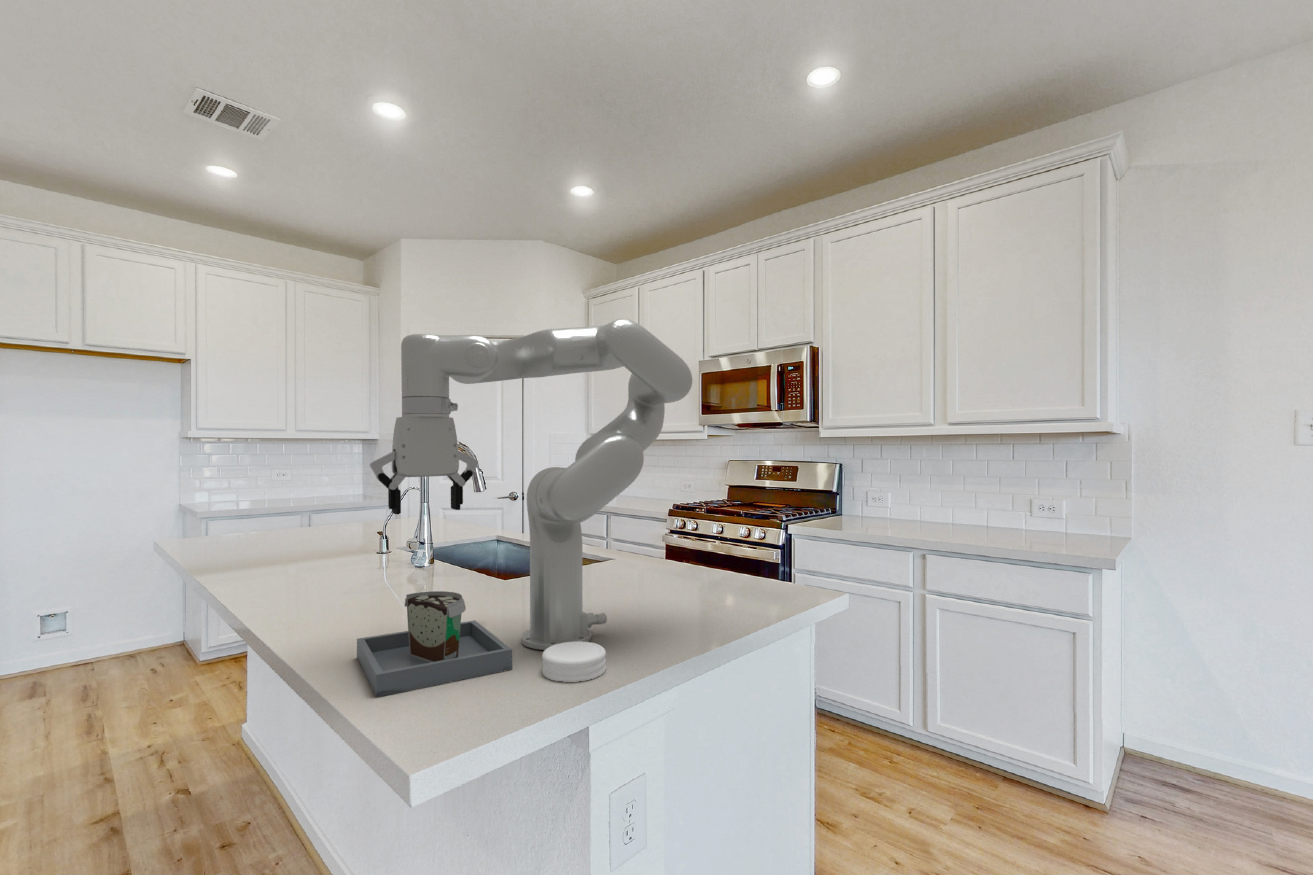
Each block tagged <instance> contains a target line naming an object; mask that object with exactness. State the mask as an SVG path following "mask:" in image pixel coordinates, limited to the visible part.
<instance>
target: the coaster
mask: <svg viewBox="0 0 1313 875" xmlns="http://www.w3.org/2000/svg"><path fill="white" fill-rule="evenodd" d="M606 654H607V652H606V649H605V648H604V647H603V646H602V645H601V644H598V643H595V642H590V641H589V642H565V643H560V644H556V645H553V646H550V647H548V648H547V649H546V650H543V652H542V654H541V658H542V662H541V666H542V668H541V673H542V675H543V676H544V677H545V678H546V679H548V680H550V679H552V680H551V681H553V680H555V681H554V682H557V681H563V682H562V683H566V682H574V683H580V682H579V681H583V682H587V681H586V680H588V681H591V680H590V679H592V680H595V679H597V678H598V676H599V677H600V676H602V675H603V674H604V673H605V671H606V668H607V664H606V662H607V658H606ZM594 678H595V679H594Z"/></svg>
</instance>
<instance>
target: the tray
mask: <svg viewBox="0 0 1313 875" xmlns="http://www.w3.org/2000/svg"><path fill="white" fill-rule="evenodd" d="M356 659H357V661H358V663H359V666H360V667H361V669H362V671H363V673H364V675H365V678H366V679H367V681H368V683H369V685H370V688H371V690H372V691H373V694H374V696H375V698H380V697H386V696H390V695H395V694H400V693H405V692H410V691H415V690H419V689H424V688H423V687H425V688H430V687H434V685H435V686H438V685H437V684H440V685H444V684H443V683H445V684H447V683H446V682H449V683H451V682H450V681H454V682H458V680H459V681H463V680H462V679H464V680H468V679H473V677H474V678H477V676H479V677H484V676H488V675H492V674H491V673H493V674H497V672H498V673H502V672H501V671H503V672H505V671H504V670H508V671H511V670H510V669H512V670H513V649H512V648H511V647H510V646H508V645H507V644H506V643H504V642H503V641H502V640H501V639H499V637H497V636H496V635H494V634H493V633H492V632H491V631H489V630H488V629H487V628H486V627H485V626H483V625H482V624H480V623H479V622H478V621H477V620H469V621H461V625H460V638H459V650H458V657H457V658H452V659H447V660H441V661H436V662H428V661H425V660H422V659H419V658H416V657H413V656H410V652H409V635H408V630H404V631H398V632H392V633H386V634H378V635H374V636H367V637H359V638H356Z"/></svg>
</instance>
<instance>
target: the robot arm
mask: <svg viewBox="0 0 1313 875" xmlns="http://www.w3.org/2000/svg"><path fill="white" fill-rule="evenodd" d="M400 346H401V347H400V351H401V352H400V364H401V366H400V369H401V370H400V371H401V372H400V373H401V374H400V375H401V377H400V380H401V386H400V387H401V416H399V417H398V416H397V417H396V418H395V423H394V429H393V434H392V435H393V436H392V450H391V452H389V453H387V454H385V455H383V456H381V457H379V458H377V459H375V460H373V461H372V462H370V463H369V467H370V469H371V470H372V472H373V474H374V475H375V477H376V479H377V480H378V481H379V482H380V484H382V485H383V486H385V488H386V489H387V490H388V491H387V493H388V494H387V495H388V498H387V499H388V503H387V504H388V506H387V507H388V510H391V513H392V514H393V515H400V514H401V513H402V506H401V504H402V502H401V499H402V497H401V496H402V494H401V492H402V491H401V489H400V488H399V485H400V484H402V482H403V481H404V480H405V478H426V477H445V476H446V477H447V478H448V480H450V481H451V482H452V485H451V486H450V509H452V510H455V511H461V505H463V503H464V487H465V485H466V483H467V482H468V481H469V480H470V479H471V478H472V477H473V476H474V472H475V471H476V469H477V466H478V464H479V461H478V460H477V459H476V458H474V457H471V456H470V455H468V454H466V453H464V452H461V451H460V450H459V445H458V436H457V429H456V425H455V420H454V417H450V415H451V412H457V411H458V408H459V404H458V403H457V402H452V401H451V398H450V378H451V379H453V381H455V382H457V383H460V384H463V385H470V384H472V385H473V384H482V383H492V382H502V381H512V380H519V379H532V378H533V379H534V378H537V379H538V378H546V377H552V376H554V377H555V376H560V375H561V376H563V375H571V374H572V375H573V374H581V373H582V374H583V373H592V372H594V373H595V372H601V371H602V372H604V371H609V370H610V371H611V370H615V369H619V368H623V367H624V368H626V370H627V371H629V372H630V373H631V375H630V377H629V379H628V386H627V388H628V389H627V390H628V394H627V395H628V398H627V404H626V406H625V408H624V410H623V411H622V412H621V413H619V415H617V416H616V417H614V419H612V421H610V422H609V423H607V424H606V425H605V426H604V427H602V428H601V429H599V430H598V431H596V433H594V434H592V435H591V436H589V437H588V438H587V439H586V440H584V441H583V442H582V443H581V444H580V446H579V447H578V449H577V451H576V453H575V459H574V461H573V462H572V463H571V464H570V465H569V466H568V467H560V466H559V467H557V466H554V467H553V466H552V467H547V468H544V469H542V470H540V471H538V472H537V473H536V474H535V475H534V476H533V477H532V478H531V480H530V482H529V484H528V487H527V491H526V508H527V517H528V526H529V527H528V528H529V618H530V619H529V629H527V630H525V631H524V632H523V633H522V634H521V644H522V645H524V646H525V647H527V648H530V649H534V650H541V651H545V650H546V649H547V648H548V647H550V646H553V645H556V644H560V643H565V642H590V640H592V639H591V638H592V631H591V629H590V628H592V626H593V625H594V626H595V625H597V626H598V625H603V624H606V623H607V622H608V619H607V615H606V613H605V612H603V613H595V614H594V612H588V613H587V612H584V611H583V603H584V602H583V533H582V532H583V531H582V526H581V523H583V522H585V521H587V520H589V519H590V518H591V517H593V516H594V515H596V514H597V513H598V512H600V511H601V510H602V509H603V508H604V507H605V506H607V505H608V504H610V503H611V502H612V501H613V500H614V499H615V498H616V497H617V496H619V495H620V494H621V493H623V492H624V491H625V490H626V489H627V488H628V487H630V486H631V485H632V484H633V483H634V482H635V481H636V479H637V478H638V477H639V475H640V473H641V471H642V469H643V467H644V458H645V457H644V451H645V450H647V449H648V448H649V447H650V446H651V445H652V444H653V443H654V442H655V441H656V440H657V439H658V438H659V436H660V434H661V432H662V429H663V427H664V426H663V425H664V421H665V413H666V412H665V410H666V409H665V404H671V403H675V402H678V401H681V400H683V399H684V398H685V397H686V396H687V395H688V394H690V390H691V389H692V386H693V375H692V371H691V369H690V367H689V365H688V364H687V363H686V361H685V360H684V359H683V358H682V357H681V356H679V355H678V354H677V353H676V352H675V351H673V349H671V348H670V347H668V345H666V344H665V343H663V342H662V341H661V340H660V339H659V338H658V337H656V336H655V335H654V334H653V333H651V331H649V330H648V329H646V328H645V327H644V326H642V325H641V324H639V323H637V322H635V321H634V320H631V319H628V318H618V319H616V320H612V321H611V322H609V323H607V324H604V325H592V326H581V327H579V326H578V327H564V328H563V327H562V328H548V329H547V328H546V329H543V330H538V331H535V332H532V333H529V334H527V335H524V336H520V337H516V338H511V339H506V340H505V339H504V340H498V341H497V340H496V341H491V340H490V339H488V338H486V337H485V336H482V335H481V336H480V335H475V334H466V335H465V334H464V335H454V336H453V335H452V336H450V335H449V336H440V335H436V334H430V333H429V334H427V333H417V334H416V333H414V334H413V333H412V334H409V335H406V336H405V337H404V338H403V339H402V341H401V344H400ZM460 461H461V462H462V463H465V464H466V467H465V469H464V470H463V471H462V472H461V473H459V469H460V467H459V466H460ZM389 463H391V472H392V474H393V475H392V476H391V477H389V476H388V475H387V474H386V473H385V472H384V470H383V467H384V466H385V465H388V464H389Z"/></svg>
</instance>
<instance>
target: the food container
mask: <svg viewBox="0 0 1313 875" xmlns="http://www.w3.org/2000/svg"><path fill="white" fill-rule="evenodd" d="M405 596H406V597H405V599H404V600H405V601H404V607H405V608H406V613H407V617H406V618H407V631H408V635H409V652H410V656H413V657H416V658H419V659H422V660H425V661H428V662H436V661H441V660H447V659H452V658H457V657H458V650H459V638H460V625H461V622H462V621H461V620H462V614H463V613H465V611H466V609H467V608H466V603H465V599H464V598H463V596H462V594H460V593H458V592H454V591H446V590H445V591H442V590H440V591H439V590H437V591H436V590H435V591H421V592H419V591H418V592H415V593H408V594H406V595H405Z"/></svg>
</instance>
